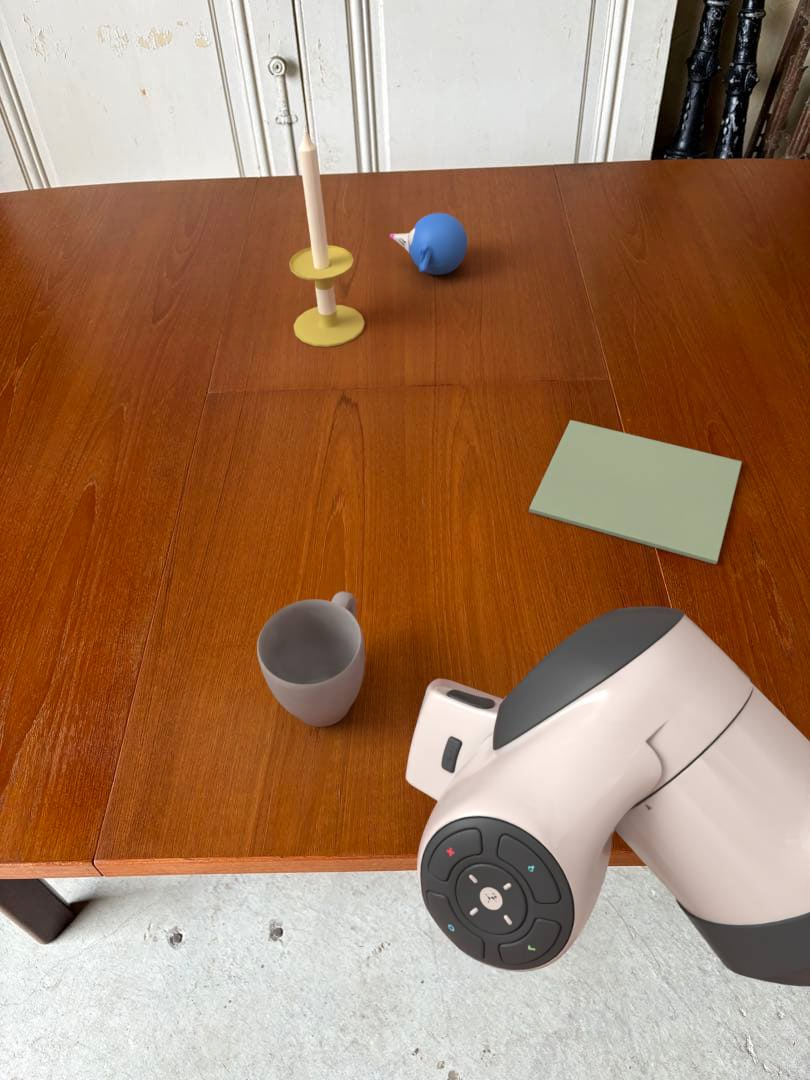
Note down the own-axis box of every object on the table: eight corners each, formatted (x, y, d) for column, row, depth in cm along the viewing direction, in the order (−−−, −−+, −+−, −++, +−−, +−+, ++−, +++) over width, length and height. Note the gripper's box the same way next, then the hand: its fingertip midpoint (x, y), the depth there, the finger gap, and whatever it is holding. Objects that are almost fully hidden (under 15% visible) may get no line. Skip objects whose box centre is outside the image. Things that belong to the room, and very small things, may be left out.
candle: (307, 354, 110) (277, 150, 90) (284, 317, 116) (250, 118, 96) (375, 335, 112) (361, 132, 92) (349, 299, 118) (330, 102, 98)
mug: (347, 758, 70) (336, 700, 63) (257, 726, 73) (236, 667, 65) (397, 649, 78) (393, 586, 70) (314, 623, 80) (301, 560, 73)
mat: (740, 465, 93) (742, 461, 92) (716, 565, 83) (717, 561, 83) (569, 423, 98) (570, 419, 98) (528, 512, 89) (528, 508, 88)
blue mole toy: (405, 243, 129) (403, 191, 122) (477, 255, 125) (478, 201, 119) (376, 282, 121) (372, 228, 115) (451, 295, 118) (452, 241, 112)
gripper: (738, 799, 46) (723, 737, 59) (407, 680, 52) (460, 648, 65) (705, 901, 47) (697, 818, 60) (381, 772, 52) (439, 722, 66)
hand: (571, 728), depth 62 cm, fingers open, 8 cm apart
